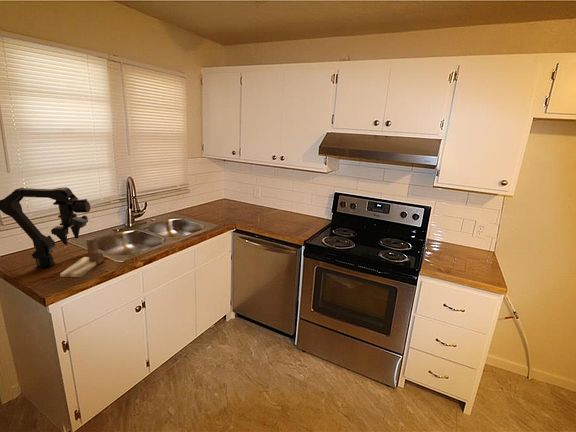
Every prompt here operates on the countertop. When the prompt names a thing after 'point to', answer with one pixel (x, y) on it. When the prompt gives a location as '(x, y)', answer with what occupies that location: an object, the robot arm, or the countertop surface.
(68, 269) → the birch board
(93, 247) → the marking gauge
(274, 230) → the countertop surface
